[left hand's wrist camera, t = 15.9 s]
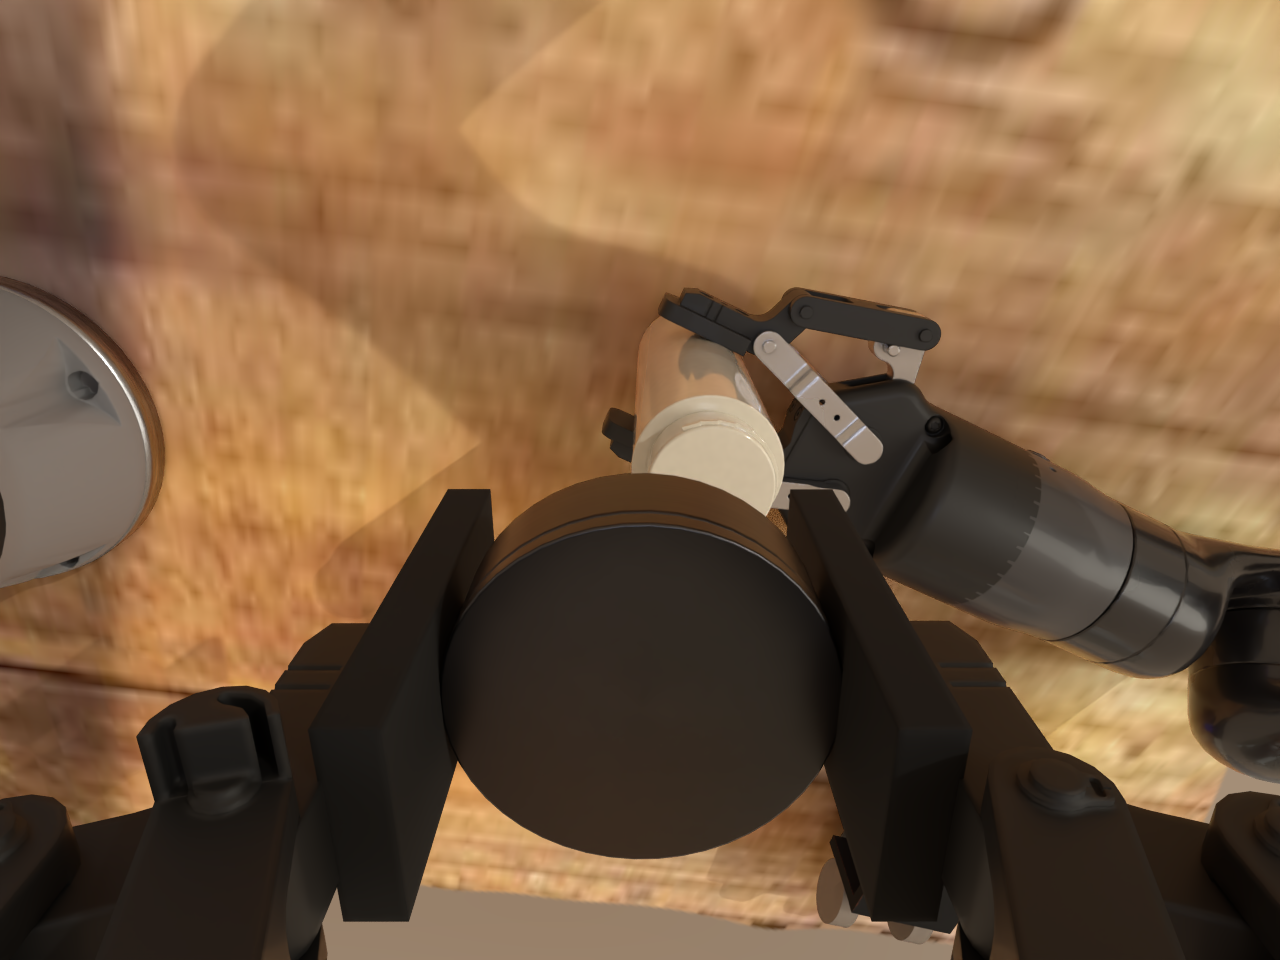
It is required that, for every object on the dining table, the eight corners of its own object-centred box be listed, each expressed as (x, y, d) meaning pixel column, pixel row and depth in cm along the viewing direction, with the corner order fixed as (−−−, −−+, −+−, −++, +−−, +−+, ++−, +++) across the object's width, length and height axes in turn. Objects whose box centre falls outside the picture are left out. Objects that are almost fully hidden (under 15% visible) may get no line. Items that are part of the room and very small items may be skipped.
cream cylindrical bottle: (746, 386, 40) (810, 535, 24) (655, 414, 40) (659, 579, 24) (719, 294, 38) (769, 388, 22) (625, 325, 39) (607, 438, 23)
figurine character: (896, 860, 53) (1008, 694, 46) (928, 978, 46) (1065, 804, 39) (800, 837, 52) (898, 665, 45) (817, 953, 45) (937, 772, 38)
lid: (617, 395, 11) (612, 437, 9) (891, 615, 12) (930, 686, 11) (397, 653, 13) (360, 728, 11) (661, 825, 14) (664, 915, 12)
